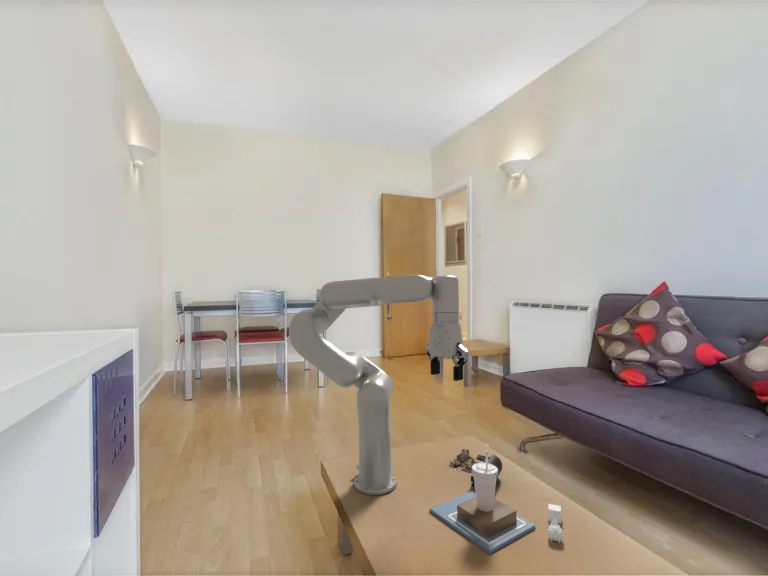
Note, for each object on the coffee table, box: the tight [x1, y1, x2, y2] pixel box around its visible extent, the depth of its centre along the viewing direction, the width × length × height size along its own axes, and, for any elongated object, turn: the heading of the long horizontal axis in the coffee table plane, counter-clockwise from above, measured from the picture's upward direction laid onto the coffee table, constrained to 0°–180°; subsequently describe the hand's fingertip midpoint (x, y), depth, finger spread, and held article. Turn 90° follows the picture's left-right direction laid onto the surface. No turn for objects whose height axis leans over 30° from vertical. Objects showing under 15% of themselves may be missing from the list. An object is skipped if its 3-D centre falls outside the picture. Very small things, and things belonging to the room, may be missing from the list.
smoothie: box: [471, 449, 498, 512], centre depth 96 cm, size 6×6×14 cm
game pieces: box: [546, 503, 564, 544], centre depth 93 cm, size 12×3×3 cm, turn 157°
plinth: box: [457, 497, 518, 538], centre depth 96 cm, size 10×10×3 cm
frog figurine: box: [449, 448, 477, 473], centre depth 129 cm, size 12×12×4 cm
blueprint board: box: [429, 490, 536, 555], centre depth 97 cm, size 20×16×1 cm
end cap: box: [470, 454, 503, 488], centre depth 116 cm, size 10×7×7 cm
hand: (446, 377), depth 113 cm, fingers open, 9 cm apart
